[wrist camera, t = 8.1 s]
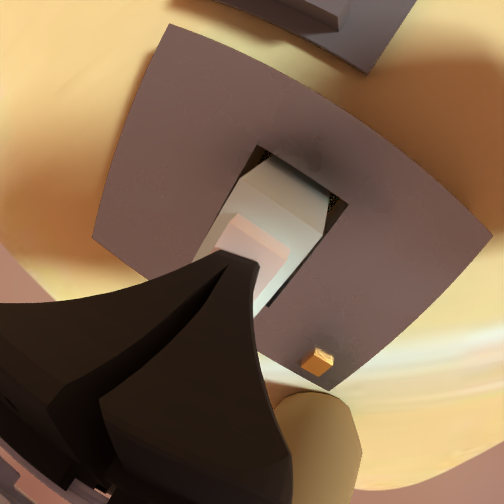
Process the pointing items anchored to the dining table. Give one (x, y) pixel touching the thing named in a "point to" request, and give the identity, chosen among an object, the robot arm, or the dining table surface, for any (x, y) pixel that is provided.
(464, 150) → the dining table surface
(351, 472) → the squeeze bottle
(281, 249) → the plug
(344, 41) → the dark grey holder base
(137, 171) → the port block
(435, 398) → the dining table surface
